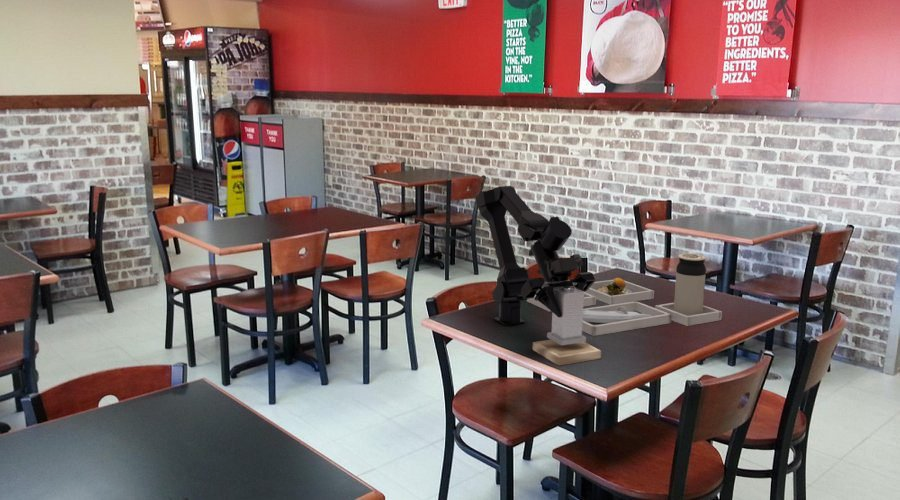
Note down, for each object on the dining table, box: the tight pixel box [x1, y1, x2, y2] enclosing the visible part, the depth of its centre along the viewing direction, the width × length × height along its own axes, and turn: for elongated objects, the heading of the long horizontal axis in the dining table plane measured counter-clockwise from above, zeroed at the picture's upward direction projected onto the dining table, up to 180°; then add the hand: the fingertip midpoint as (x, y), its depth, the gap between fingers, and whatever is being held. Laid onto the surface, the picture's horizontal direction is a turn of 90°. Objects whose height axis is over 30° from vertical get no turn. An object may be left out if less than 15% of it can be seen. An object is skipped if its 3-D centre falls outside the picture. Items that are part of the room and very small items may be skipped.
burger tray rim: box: [585, 279, 655, 305], centre depth 235 cm, size 17×17×2 cm
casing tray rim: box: [582, 301, 672, 337], centre depth 207 cm, size 15×27×2 cm, turn 116°
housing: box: [546, 286, 587, 345], centre depth 179 cm, size 6×7×13 cm
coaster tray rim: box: [526, 292, 597, 312], centre depth 227 cm, size 17×17×2 cm
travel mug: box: [673, 253, 707, 316], centre depth 210 cm, size 8×8×18 cm
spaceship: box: [583, 306, 652, 324], centre depth 208 cm, size 23×7×4 cm, turn 101°
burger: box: [596, 275, 634, 296], centre depth 234 cm, size 12×12×8 cm
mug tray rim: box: [654, 302, 723, 327], centre depth 212 cm, size 13×13×2 cm
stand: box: [532, 339, 602, 366], centre depth 181 cm, size 12×12×2 cm
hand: (570, 315), depth 178 cm, fingers closed on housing, 5 cm apart
